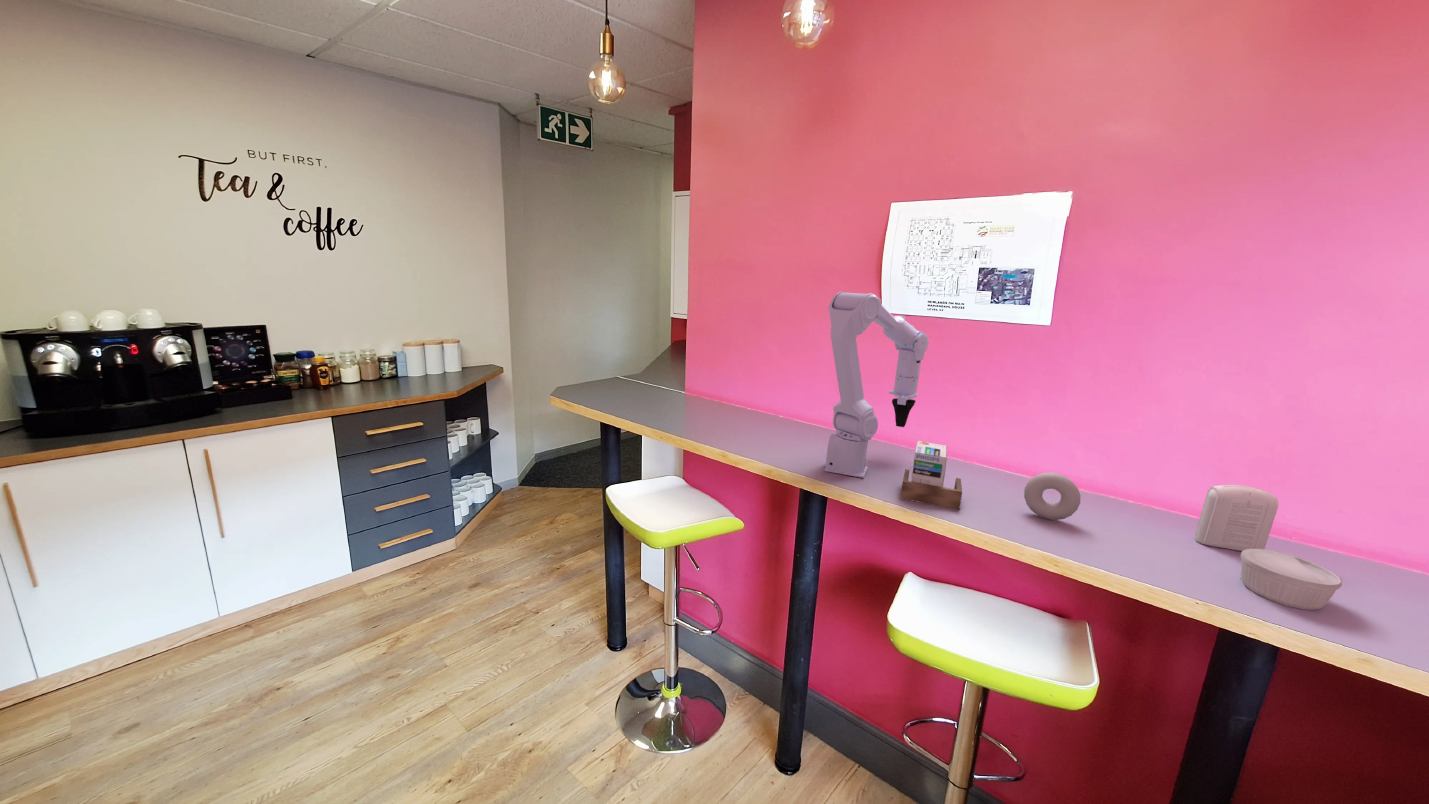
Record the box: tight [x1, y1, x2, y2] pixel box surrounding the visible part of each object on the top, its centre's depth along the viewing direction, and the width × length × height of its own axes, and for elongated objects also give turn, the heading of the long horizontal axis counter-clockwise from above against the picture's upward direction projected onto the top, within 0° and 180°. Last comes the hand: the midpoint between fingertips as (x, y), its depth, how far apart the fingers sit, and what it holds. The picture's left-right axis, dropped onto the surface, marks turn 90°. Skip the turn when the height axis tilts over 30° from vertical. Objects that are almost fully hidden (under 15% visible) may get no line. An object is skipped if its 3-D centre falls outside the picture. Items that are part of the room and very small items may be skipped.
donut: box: [1023, 471, 1081, 521], centre depth 112 cm, size 10×4×10 cm, turn 55°
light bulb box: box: [910, 440, 948, 487], centre depth 122 cm, size 11×7×11 cm, turn 157°
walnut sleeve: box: [899, 469, 963, 511], centre depth 120 cm, size 12×9×4 cm
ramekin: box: [1240, 549, 1343, 611], centre depth 87 cm, size 11×11×5 cm
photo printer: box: [1194, 484, 1279, 552], centre depth 103 cm, size 10×4×12 cm, turn 72°
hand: (900, 426), depth 144 cm, fingers closed
